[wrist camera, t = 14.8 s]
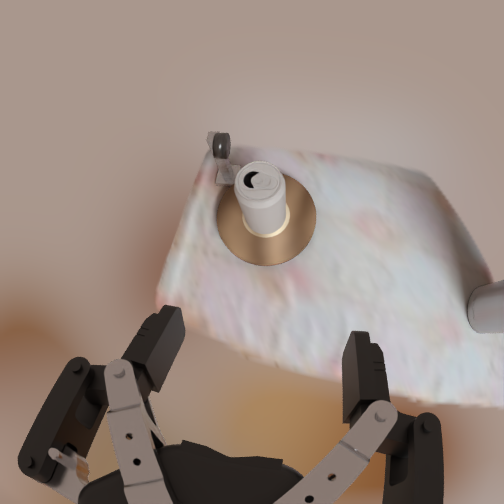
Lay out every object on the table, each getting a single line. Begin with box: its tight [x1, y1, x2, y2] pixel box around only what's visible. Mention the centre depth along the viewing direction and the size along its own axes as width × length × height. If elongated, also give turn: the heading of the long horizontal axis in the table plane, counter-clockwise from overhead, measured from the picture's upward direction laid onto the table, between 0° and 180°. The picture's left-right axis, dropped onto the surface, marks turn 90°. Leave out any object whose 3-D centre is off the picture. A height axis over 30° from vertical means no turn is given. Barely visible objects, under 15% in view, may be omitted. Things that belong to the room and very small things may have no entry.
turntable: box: [217, 174, 316, 266], centre depth 44 cm, size 16×16×1 cm
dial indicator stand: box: [207, 132, 241, 186], centre depth 43 cm, size 4×5×13 cm
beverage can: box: [234, 161, 286, 234], centre depth 38 cm, size 6×6×12 cm
